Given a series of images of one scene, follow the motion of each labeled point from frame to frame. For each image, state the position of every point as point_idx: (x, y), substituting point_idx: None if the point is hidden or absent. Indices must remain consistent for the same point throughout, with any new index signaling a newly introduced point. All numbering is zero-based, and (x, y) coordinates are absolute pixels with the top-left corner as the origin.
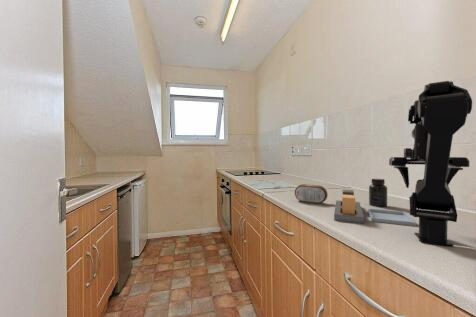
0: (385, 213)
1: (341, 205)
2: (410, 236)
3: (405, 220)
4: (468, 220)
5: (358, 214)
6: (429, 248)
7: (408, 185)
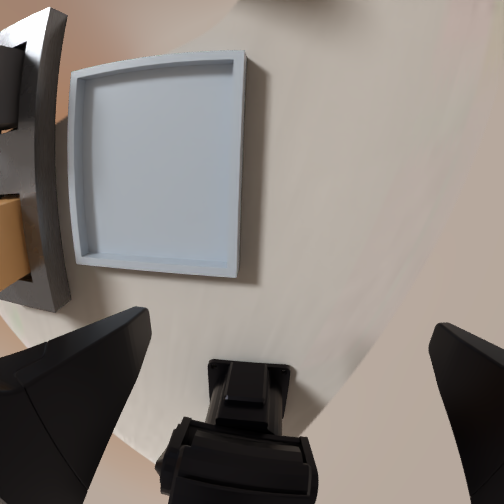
0: (149, 76)
1: None
2: (195, 374)
3: (216, 186)
4: (492, 77)
5: (35, 277)
6: None
7: (141, 357)
